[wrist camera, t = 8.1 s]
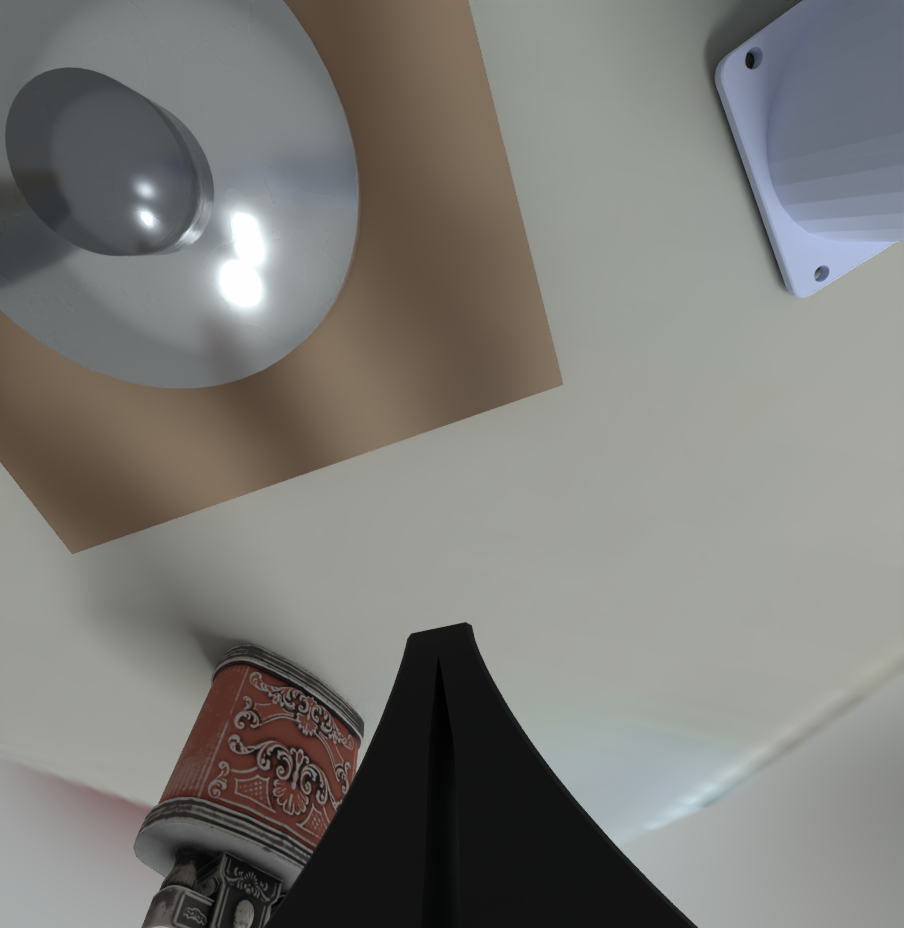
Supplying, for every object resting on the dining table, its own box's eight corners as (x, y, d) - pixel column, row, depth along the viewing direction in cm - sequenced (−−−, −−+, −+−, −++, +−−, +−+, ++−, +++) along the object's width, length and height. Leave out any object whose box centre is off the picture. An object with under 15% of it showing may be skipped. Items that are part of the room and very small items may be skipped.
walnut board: (349, -438, 11) (297, -1035, 6) (555, 377, 18) (610, 426, 13) (-394, -99, 12) (-981, -354, 7) (88, 539, 19) (-25, 640, 14)
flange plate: (414, 315, 16) (415, 333, 12) (9, 453, 17) (-98, 507, 13) (254, -157, 11) (187, -333, 8) (-285, 60, 12) (-562, -16, 9)
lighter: (200, 672, 22) (56, 962, 13) (251, 630, 22) (136, 906, 13) (331, 757, 25) (287, 1046, 16) (380, 722, 25) (362, 1003, 15)
